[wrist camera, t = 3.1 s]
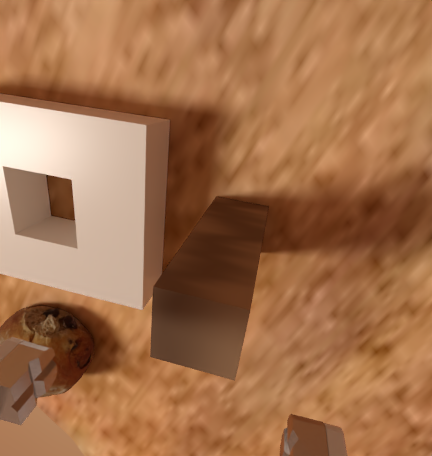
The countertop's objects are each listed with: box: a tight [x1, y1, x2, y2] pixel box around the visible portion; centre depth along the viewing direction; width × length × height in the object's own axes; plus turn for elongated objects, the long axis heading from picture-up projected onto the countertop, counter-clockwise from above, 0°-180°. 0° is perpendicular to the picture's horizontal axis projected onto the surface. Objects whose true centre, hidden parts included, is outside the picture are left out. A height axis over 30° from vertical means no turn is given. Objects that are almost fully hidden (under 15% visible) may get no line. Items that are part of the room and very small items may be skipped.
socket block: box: [0, 93, 170, 310], centre depth 24 cm, size 16×14×4 cm
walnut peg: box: [150, 197, 269, 380], centre depth 18 cm, size 4×4×12 cm
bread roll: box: [0, 306, 94, 397], centre depth 32 cm, size 10×10×8 cm
